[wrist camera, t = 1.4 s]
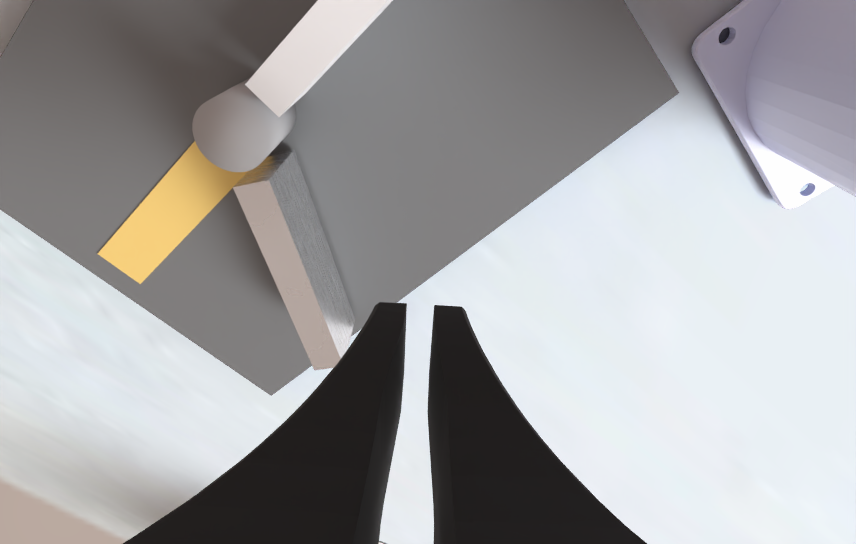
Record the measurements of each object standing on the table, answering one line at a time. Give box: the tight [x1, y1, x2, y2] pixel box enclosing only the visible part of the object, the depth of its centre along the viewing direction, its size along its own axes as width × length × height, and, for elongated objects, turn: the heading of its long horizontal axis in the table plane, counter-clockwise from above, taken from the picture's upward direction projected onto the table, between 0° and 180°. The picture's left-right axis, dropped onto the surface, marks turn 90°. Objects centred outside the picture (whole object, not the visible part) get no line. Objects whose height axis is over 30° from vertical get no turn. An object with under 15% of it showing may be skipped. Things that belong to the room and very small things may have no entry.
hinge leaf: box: [233, 150, 355, 370], centre depth 18 cm, size 8×1×3 cm, turn 12°
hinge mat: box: [0, 0, 679, 395], centre depth 16 cm, size 22×16×4 cm
